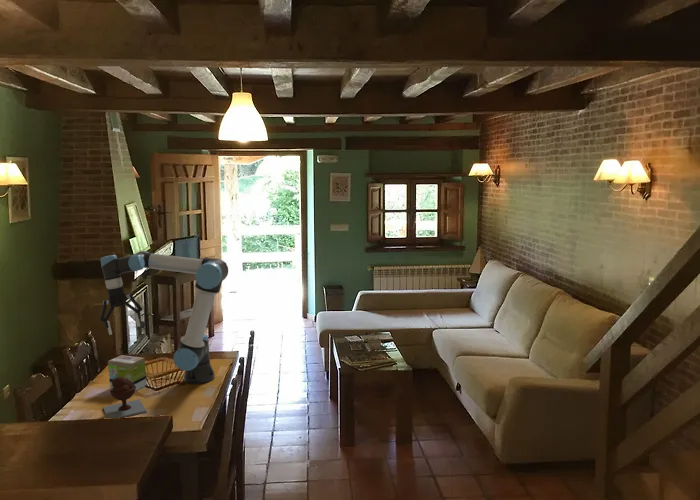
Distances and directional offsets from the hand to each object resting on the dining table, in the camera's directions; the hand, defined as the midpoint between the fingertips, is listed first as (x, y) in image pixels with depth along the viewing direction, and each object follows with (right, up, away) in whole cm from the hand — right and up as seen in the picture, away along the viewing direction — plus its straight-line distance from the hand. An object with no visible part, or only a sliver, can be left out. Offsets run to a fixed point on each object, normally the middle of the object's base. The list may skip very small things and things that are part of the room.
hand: (124, 330), depth 298 cm
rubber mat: (+7, -33, -20) cm, 40 cm away
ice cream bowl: (+7, -33, -20) cm, 39 cm away
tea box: (-1, -30, +9) cm, 31 cm away
